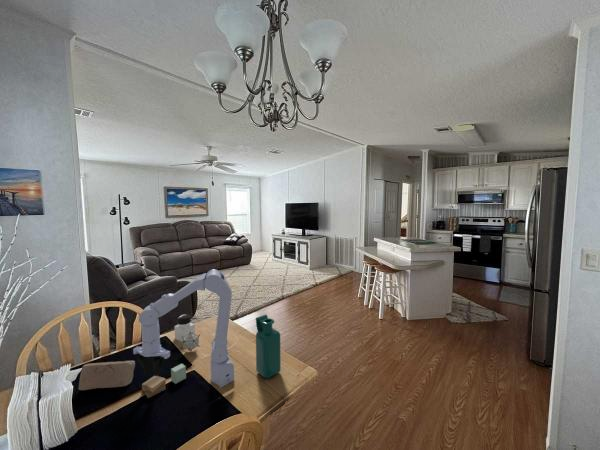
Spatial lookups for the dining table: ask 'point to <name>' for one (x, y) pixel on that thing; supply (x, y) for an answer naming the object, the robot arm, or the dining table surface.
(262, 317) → the green bottle
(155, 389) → the slab upper
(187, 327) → the medicine bottle
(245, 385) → the dining table surface
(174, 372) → the sage block
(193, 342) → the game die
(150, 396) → the slab lower
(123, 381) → the brick
